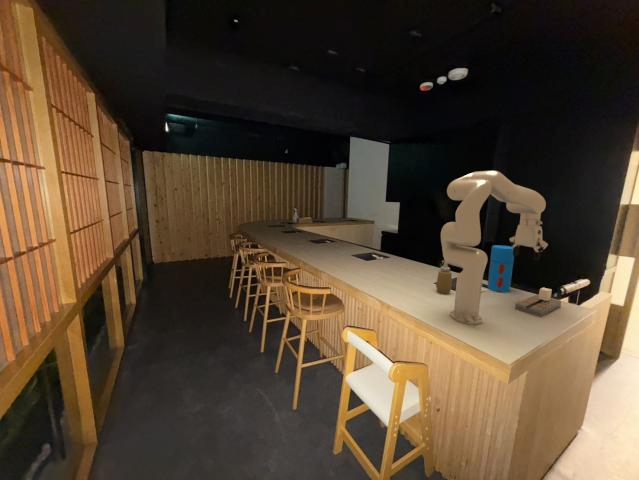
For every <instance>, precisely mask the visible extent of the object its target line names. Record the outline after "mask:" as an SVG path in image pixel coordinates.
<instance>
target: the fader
mask: <svg viewBox="0 0 639 480" xmlns="http://www.w3.org/2000/svg"><path fill="white" fill-rule="evenodd" d="M552 291H553V290H552V288H546V287H541V288H540V289H539V293H538V295H539V298H538V299H542V301H543V302H544V301H548V300H550V299H552V298H551V297H552Z"/></svg>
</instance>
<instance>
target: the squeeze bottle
mask: <svg viewBox="0 0 639 480" xmlns="http://www.w3.org/2000/svg"><path fill="white" fill-rule="evenodd" d="M452 277H453V276H452V272H451V267H449V264H448V263H446V261H445V260H444V263H443V265H442V266H440V270H439V271H438V273H437V279H436V284H435V286H436V287H435V288H436V291H437V292H438V293H439V294H441V295H442V294H443V295H448V294H450V293H451V290H452V288H453V286H452V284H453V282H452V281H453V280H452Z"/></svg>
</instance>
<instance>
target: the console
mask: <svg viewBox="0 0 639 480" xmlns="http://www.w3.org/2000/svg"><path fill="white" fill-rule="evenodd" d="M538 298H539V294H535V295H532V296H530V297H528V298H525V299H523V300H520V301H518V302H516V303H515V305H514V306H515V308H514V309H515V310H517V311H519V312H523V313H526V314H529V315H532V316H535V317H539V318H542V317H544V316H546V315H547V314H549V313H551V312H554V311H555V310H558V309H559V308H561V305H562V301H561V300H558V299H555V298H551V299H550V300H548V301H544V302H543V301H542V299H538Z"/></svg>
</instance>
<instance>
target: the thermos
mask: <svg viewBox="0 0 639 480" xmlns="http://www.w3.org/2000/svg"><path fill="white" fill-rule="evenodd" d="M514 260H515V256H513V247H512V246H509V245H501V244H500V245H492V246H491V253H490V261H489V268H488V269H489V270H488V278H487V290H490V291H492V292H496V293H501V294H502V293H504V294H505V293H510V289H511V286H512V285H511V283H512V275H513V268H514Z"/></svg>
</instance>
